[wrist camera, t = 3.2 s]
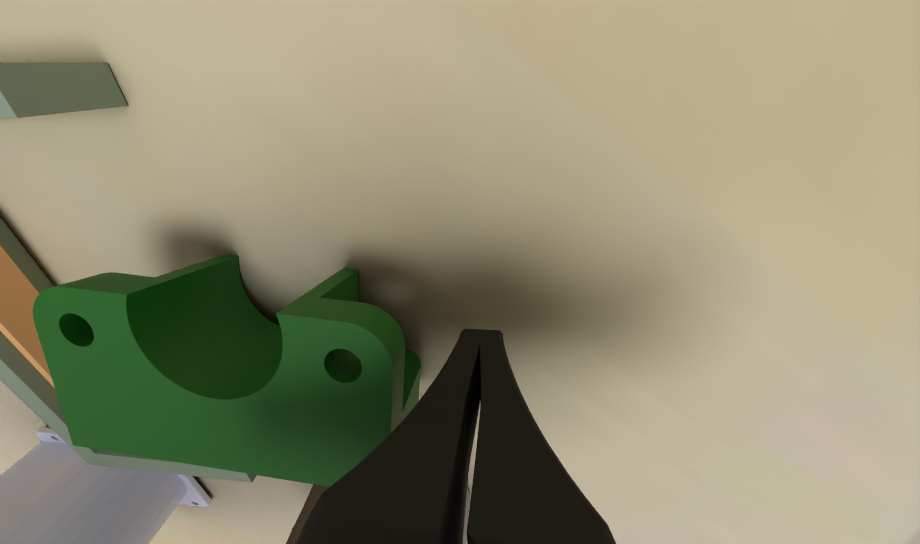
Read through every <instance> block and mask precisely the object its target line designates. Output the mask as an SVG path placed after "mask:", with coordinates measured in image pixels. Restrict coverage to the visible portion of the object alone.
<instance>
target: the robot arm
mask: <svg viewBox="0 0 920 544" xmlns="http://www.w3.org/2000/svg"><path fill="white" fill-rule="evenodd" d="M480 402H481V409H480V419H479V430H478V439H477V449H476V458H475V467H474V476H473V485H472V493H471V502H470V510H469V518H468V526H467V544H616V542H615V540H614V538H613V536H612V533H611V531H610V529H609V527H608V525H607V523H606V522H605V521H604V520H603V518H602V517H601V516H600V515H599V513H598V512H597V511H596V510H595V508H594V507H593V506H592V505H591V503H590V502H589V501H588V500H587V498H586V497H585V496H584V494H583V493H582V492H581V490H580V489H579V488H578V486H577V485H576V484H575V482H574V481H573V480H572V478H571V477H570V475H569V474H568V473H567V471H566V470H565V468H564V467H563V465H562V464H561V462H560V461H559V459H558V458H557V456H556V455H555V453H554V452H553V450H552V449H551V447H550V446H549V444H548V442H547V441H546V439H545V437H544V436H543V434H542V432H541V431H540V429H539V427H538V425H537V424H536V422H535V420H534V418H533V416H532V414H531V412H530V411H529V409H528V407H527V405H526V402H525V400H524V398H523V396H522V394H521V392H520V389H519V387H518V385H517V382H516V380H515V377H514V375H513V372H512V369H511V367H510V364H509V361H508V357H507V354H506V350H505V346H504V341H503V333H502V332H501V331H498V330H478V329H464V330H463V331H462V332H461V334H460V337H459V339H458V341H457V343H456V345H455V347H454V349H453V351H452V353H451V354H450V356H449V358H448V360H447V361H446V363H445V364H444V366H443V368H442V369H441V371H440V373H439V374H438V376H437V377H436V378H435V380H434V381H433V383H432V384H431V386H430V387H429V388H428V390H427V391H426V393H425V394H424V395H423V397H422V398H421V399H420V400H419V402H418V403H417V404H416V405H415V407H414V408H413V409H412V410H411V411H410V412H409V414H408V415H407V416H406V417H405V418H404V419H403V420H402V421H401V423H400V424H399V425H398V426H397V427H396V428H395V429H394V430H393V431H392V432H391V433H390V434H389V435H388V436H387V437H386V438H385V439H384V440H383V441H382V442H381V443H380V444H379V445H378V446H377V447H376V448H375V449H374V450H373V451H371V452H370V453H369V454H368V455H367V456H366V457H365V458H364V459H363V460H362V461H361V462H360V463H358V464H357V465H356V466H355V467H354V468H353V469H351V470H350V471H349V472H348V473H346V474H345V475H344V476H343V477H341V478H340V479H339V480H338V481H336V482H335V483H334V484H333V485H331V486H330V487H329V488H328V489H326V490H325V491H324V492H323V493H322V494H321V496H320V497H319V499H318V501H317V502H316V504H315V506H314V507H313V509H312V511H311V513H310V515H309V516H308V518H307V520H306V522H305V524H304V526H303V528H302V530H301V533H300V535H299V537H298V540H297V542H296V544H463V533H464V520H465V508H466V495H467V483H468V472H469V465H470V458H471V452H472V446H473V440H474V434H475V428H476V422H477V416H478V410H479V404H480ZM35 435H36V437H37V438H39V439H40V440H41V441H42V442H41V443H40V444H39V445H37V446H36V447H35V448H34V449H32V450H31V451H30V452H29V453H27V454H26V455H25V456H24V457H23V458H21V459H20V460H19V461H18V462H16V463H15V464H14V465H13V466H11V467H10V468H9V469H8V470H7V471H5V472H4V473H3V474H2V475H0V544H149V543H150V541H151V540H152V538H153V537H154V536H155V534H156V533H157V532H158V530H159V529H160V528H161V526H162V525H163V524H164V522H165V521H166V520H167V518H168V517H169V516H170V514H171V513H172V512H173V510H174V509H175V508H176V506H177V505H178V504H182V505H190V506H198V507H208V506H209V504H210V503H211V499H210V497H209V496H208V495H207V494H206V492H205V491H204V490H203V488H202V487H201V486H200V485H199V483H198V482H197V481H196V480H195V478H194V477H193V476H189V475H180V474H171V473H162V472H153V471H144V470H135V469H125V468H116V467H107V466H98V465H89V464H88V463H87V462H86V461H84V460H83V459H82V458H81V457H80V456H79V455H78V454H77V453H76V452H75V451H74V450H73V449H72V448H71V447H70V446H69V445H68V444H67V443H66V442H65V441H64V440H63V439H62V438H60V437H59V436H58V435H57V434H56V433H55V432H54V431H53V430H52V429H51V428H45V427H43V428H40V429H39V430H38V431H36V432H35Z"/></svg>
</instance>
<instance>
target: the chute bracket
mask: <svg viewBox="0 0 920 544" xmlns="http://www.w3.org/2000/svg"><path fill="white" fill-rule="evenodd" d="M120 106H128V105H127V103H126V101H125V99H124V97H123V95H122V93H121V91H120V89H119V87H118V84H117V82H116V80H115V78H114V76H113V74H112V72H111V70H110V68H109V66H108V64H107V63H0V118H20V117H29V116H38V115H47V114H56V113H65V112H74V111H83V110H93V109H102V108H111V107H120ZM51 287H54V286H53V284H52V283H51V282H50V280H49V279H48V278H47V277H46V275H45V274H44V273H43V271H42V270H41V269H40V268H39V266H38V265H37V264H36V262H35V261H34V260H33V258H32V257H31V256H30V255H29V253H28V252H27V251H26V249H25V248H24V247H23V245H22V244H21V243H20V242H19V240H18V239H17V238H16V236H15V235H14V234H13V233H12V231H11V230H10V229H9V227H8V226H7V225H6V223H5V222H4V221H3V220H2V218H1V217H0V380H1V381H2V382H3V383H4V384H5V385H6V386H7V387H8V388H9V389H10V390H11V391H12V392H13V393H15V394H16V395H17V396H18V397H19V398H20V399H21V400H22V401H23V402H24V403H25V404H26V405H27V406H28V407H29V408H30V409H31V410H32V411H33V412H34V413H35V414H36V415H37V416H39V417H40V418H41V419H42V420H43V421H44V422H45V423H46V424H47V425H48V426H49V427H50V428H51V429H52V430H53V431H54V432H55V433H56V434H57V435H58V436H59V437H60V438H62V439H63V440H64V441H65V442H66V443H67V444H68V445H69V446H70V447H71V448H72V449H73V450H74V451H75V452H76V453H77V454H78V455H79V456H80V457H81V458H82V459H83V460H84V461H86V462H87V463H88V464H89V465H98V466H107V467H116V468H125V469H135V470H144V471H153V472H162V473H171V474H180V475H189V476H198V477H208V478H217V479H226V480H235V481H244V482H253V480H254V478H255V477H256V475H254V474H248V473H242V472H235V471H229V470H223V469H217V468H211V467H204V466H198V465H192V464H186V463H179V462H173V461H167V460H161V459H155V458H148V457H142V456H136V455H130V454H124V453H117V452H111V451H105V450H99V449H92V448H86V447H80V446H74V445H73V444H72V441H71V438H70V435H69V432H68V428H67V425H66V422H65V419H64V416H63V413H62V409H61V406H60V403H59V400H58V397H57V394H56V390H55V387H54V384H53V381H52V378H51V375H50V371H49V368H48V365H47V362H46V359H45V356H44V352H43V349H42V346H41V343H40V340H39V337H38V333H37V330H36V327H35V324H34V320H33V305H34V302H35V300H36V298H37V296H38V295H39V294H40V293H41V292H43V291H44V290H46V289H48V288H51Z"/></svg>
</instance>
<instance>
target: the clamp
mask: <svg viewBox="0 0 920 544" xmlns="http://www.w3.org/2000/svg"><path fill="white" fill-rule="evenodd" d="M276 316H277V318H278V321H279V324H280V326H279V325H276V324H275V323H273V322H271V321H270V320H268V319H267V318H265V317H264V316H263V315H262V314H261V313H260V312H259V311H258V310H257V309H256V308H255V307H254V306H253V304H252V303H251V302H250V300H249V298H248V297H247V295H246V293H245V291H244V288H243V286H242V282H241V278H240V271H239V256H234V255H223V256H220V257H217V258H214V259H211V260H208V261H204V262H201V263H198V264H195V265H192V266H189V267H186V268H183V269H180V270H177V271H174V272H170V273H167V274H164V275H161V276H158V277H155V278H154V277H146V276H138V275H129V274H121V273H103V274H99V275H96V276H92V277H88V278H85V279H81V280H77V281H74V282H70V283H66V284H62V285H59V286H55V287H51V288H48V289H46V290H44V291H43V292H41V293H40V294H39V295H38V296H37V298H36V300H35V302H34V305H33V320H34V324H35V327H36V330H37V333H38V337H39V340H40V343H41V346H42V349H43V352H44V356H45V359H46V362H47V365H48V368H49V371H50V375H51V378H52V381H53V384H54V387H55V390H56V394H57V397H58V400H59V403H60V406H61V409H62V413H63V416H64V419H65V422H66V425H67V428H68V432H69V435H70V438H71V441H72V444H73V445H74V446H80V447H86V448H92V449H99V450H105V451H111V452H117V453H124V454H130V455H136V456H142V457H148V458H155V459H161V460H167V461H173V462H179V463H186V464H192V465H198V466H204V467H211V468H217V469H223V470H229V471H235V472H242V473H248V474H254V475H260V476H266V477H273V478H279V479H285V480H291V481H298V482H304V483H310V484H316V485H322V486H329V487H330V486H331V485H333V484H334V483H335V482H336V481H338V480H339V479H340V478H341V477H343V476H344V475H345V474H346V473H348V472H349V471H350V470H351V469H353V468H354V467H355V466H356V465H357V464H358V463H360V462H361V461H362V460H363V459H364V458H365V457H366V456H367V455H368V454H369V453H370V452H371V451H373V450H374V449H375V448H376V447H377V446H378V445H379V444H380V443H381V442H382V441H383V440H384V439H385V438H386V437H387V436H388V435H389V434H390V433H391V432H392V431H393V430H394V429H395V428H396V427H397V426H398V425H399V424H400V423H401V421H402V420H403V419H404V418H405V417H406V416H407V415H408V414H409V412H410V411H411V410H412V409H413V408H414V407H415V405H416V404H417V403H418V398H419V380H420V359H419V358H418V356H417V355H416V354H415V353H413V352H411V351H410V350H407V349H405V339H404V335H403V333H402V330H401V328H400V327H399V325H398V323H397V322H396V321H395V320H394V318H393V317H392V316H390V315H389V314H388V313H387V312H385V311H384V310H382V309H381V308H379V307H377V306H374V305H371V304H367V303H361V302H359V276H358V269H349V268H343V269H342V270H340V271H339V272H337V273H336V274H334V275H333V276H331V277H330V278H328V279H327V280H325V281H324V282H322V283H321V284H319V285H318V286H316V287H315V288H313V289H312V290H310V291H309V292H307V293H306V294H304V295H303V296H301V297H300V298H298V299H297V300H295V301H294V302H292V303H291V304H289V305H288V306H286V307H285V308H283V309H282V310H280V311H279V312H277V313H276Z"/></svg>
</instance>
